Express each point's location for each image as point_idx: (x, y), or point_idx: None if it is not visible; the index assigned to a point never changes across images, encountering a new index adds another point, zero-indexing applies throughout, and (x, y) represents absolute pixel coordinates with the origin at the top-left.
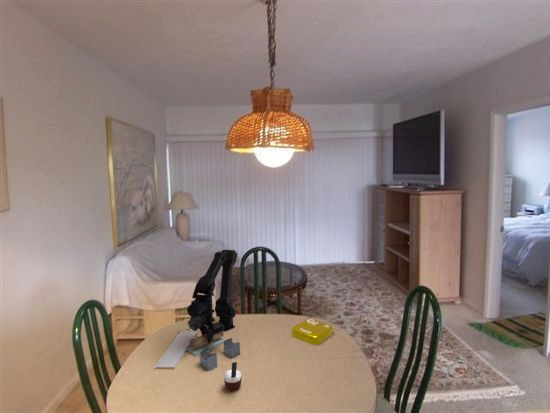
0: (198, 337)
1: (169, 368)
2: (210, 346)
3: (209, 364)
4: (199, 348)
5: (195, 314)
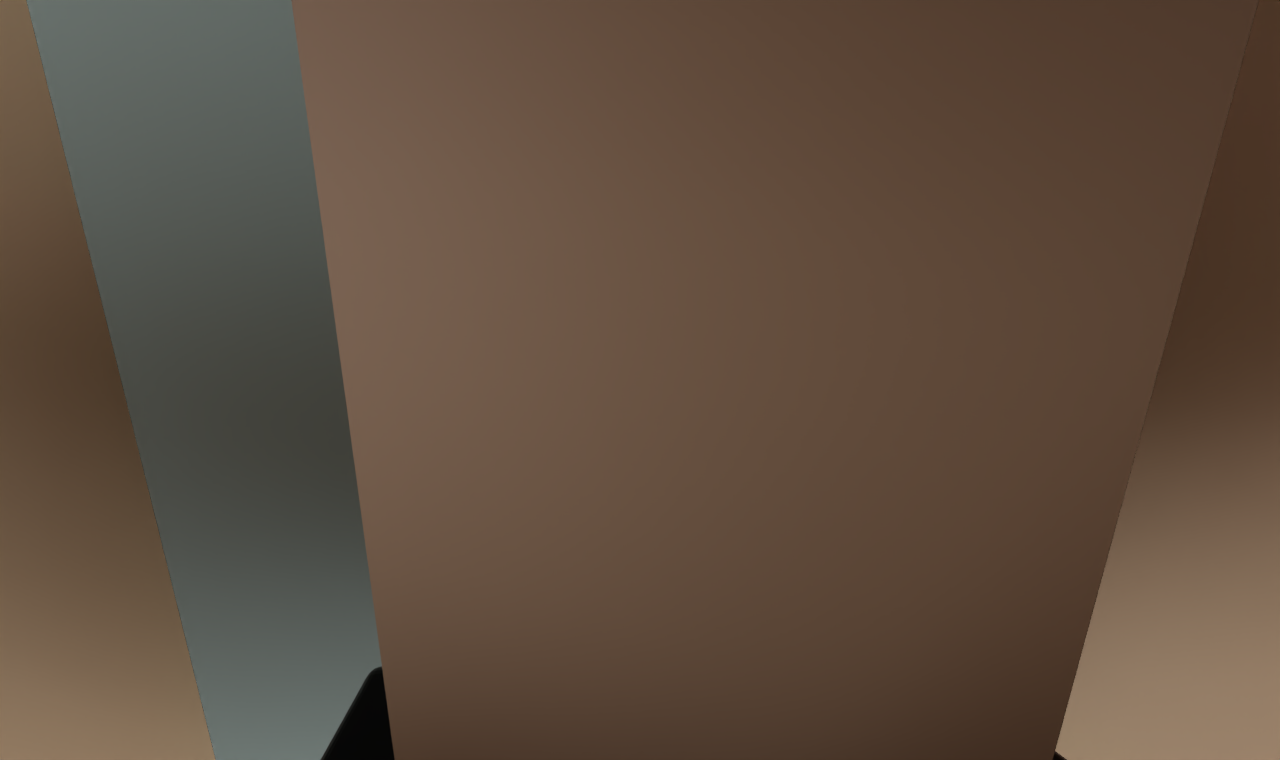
0: (983, 482)
1: None
2: (299, 585)
3: None
4: None
5: None
